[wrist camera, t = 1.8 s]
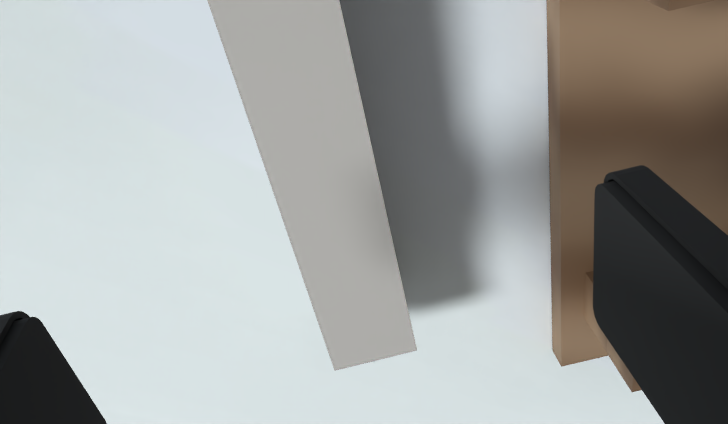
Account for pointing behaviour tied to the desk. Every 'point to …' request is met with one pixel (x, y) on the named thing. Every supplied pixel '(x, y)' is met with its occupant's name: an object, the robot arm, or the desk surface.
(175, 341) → the desk surface
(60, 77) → the desk surface
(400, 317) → the clay strip
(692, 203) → the wooden pegged board
